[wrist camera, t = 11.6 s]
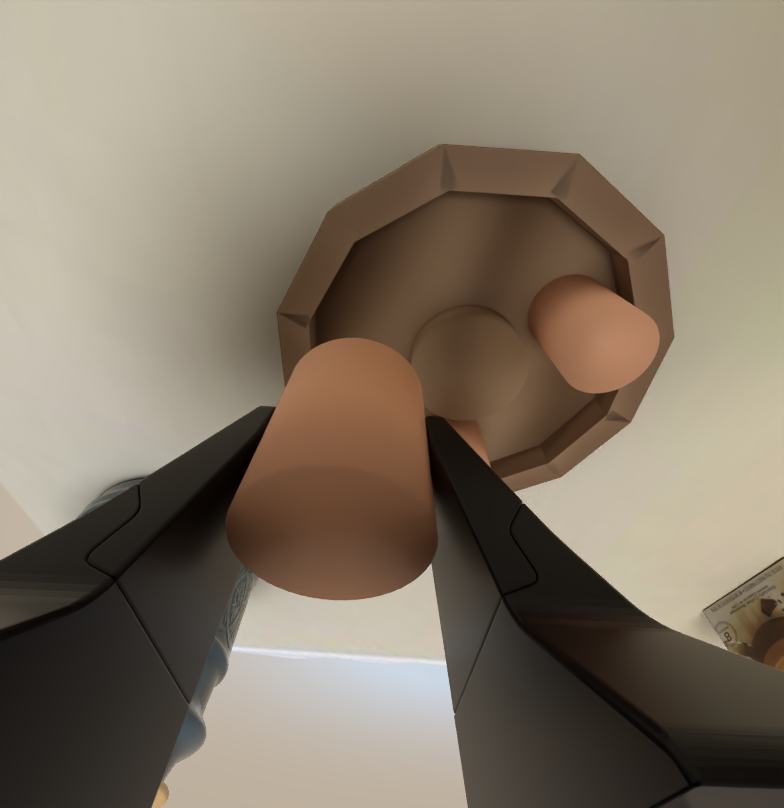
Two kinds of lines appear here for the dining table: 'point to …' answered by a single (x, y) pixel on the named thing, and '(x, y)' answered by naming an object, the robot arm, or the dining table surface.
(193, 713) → the canister
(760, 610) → the coffee box
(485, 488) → the robot arm
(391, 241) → the groove tray
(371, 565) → the bead
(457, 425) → the bead
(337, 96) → the dining table surface
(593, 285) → the bead
